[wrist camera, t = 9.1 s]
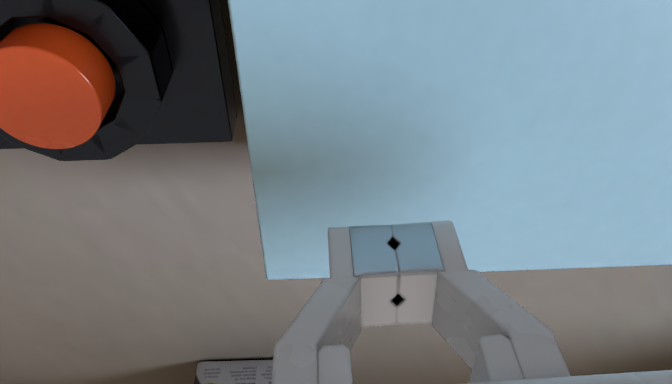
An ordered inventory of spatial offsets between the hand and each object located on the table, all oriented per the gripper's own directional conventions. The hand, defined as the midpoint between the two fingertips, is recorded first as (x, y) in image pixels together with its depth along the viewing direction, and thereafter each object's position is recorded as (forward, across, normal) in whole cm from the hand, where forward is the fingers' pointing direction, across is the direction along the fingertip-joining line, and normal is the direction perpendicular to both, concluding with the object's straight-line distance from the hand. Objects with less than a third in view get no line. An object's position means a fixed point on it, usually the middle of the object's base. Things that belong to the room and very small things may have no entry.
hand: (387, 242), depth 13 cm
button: (+7, +10, -1) cm, 12 cm away
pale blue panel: (+4, -4, -1) cm, 5 cm away
